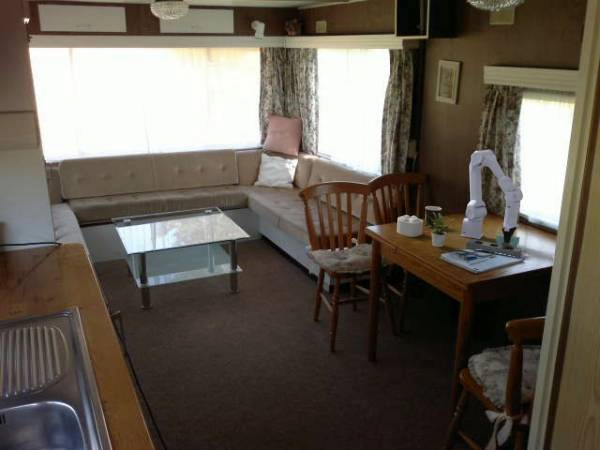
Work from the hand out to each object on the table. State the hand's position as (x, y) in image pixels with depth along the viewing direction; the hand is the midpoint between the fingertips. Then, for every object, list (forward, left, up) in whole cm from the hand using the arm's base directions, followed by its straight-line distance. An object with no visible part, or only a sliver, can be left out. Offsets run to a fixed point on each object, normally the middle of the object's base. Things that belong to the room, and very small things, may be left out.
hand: (507, 242), depth 265 cm
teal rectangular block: (0, 0, -2) cm, 2 cm away
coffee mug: (-42, +12, -3) cm, 44 cm away
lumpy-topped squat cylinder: (-48, -6, -3) cm, 48 cm away
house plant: (-30, -17, -3) cm, 35 cm away
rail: (-4, -11, -2) cm, 12 cm away
